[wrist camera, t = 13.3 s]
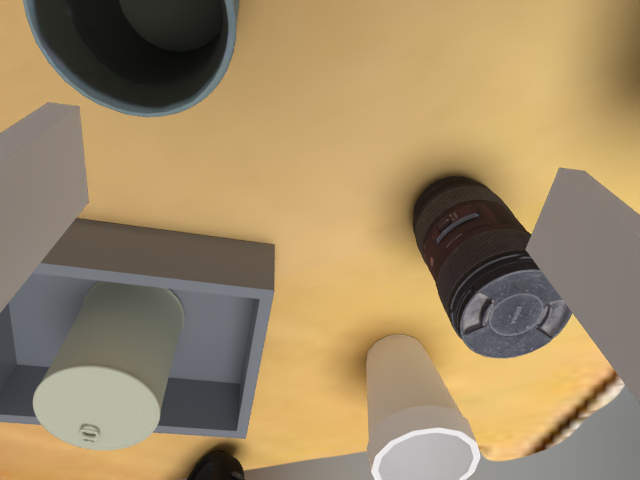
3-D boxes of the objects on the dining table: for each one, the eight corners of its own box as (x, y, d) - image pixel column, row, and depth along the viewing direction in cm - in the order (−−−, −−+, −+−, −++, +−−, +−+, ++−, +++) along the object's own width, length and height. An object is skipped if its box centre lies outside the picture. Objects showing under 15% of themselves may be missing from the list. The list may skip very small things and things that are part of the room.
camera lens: (400, 249, 47) (446, 365, 34) (410, 168, 43) (468, 266, 30) (484, 247, 48) (560, 361, 35) (502, 168, 44) (596, 264, 31)
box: (274, 244, 46) (274, 290, 40) (249, 383, 55) (245, 438, 49) (-11, 206, 42) (-59, 251, 36) (11, 363, 51) (-24, 420, 45)
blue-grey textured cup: (271, 36, 37) (268, 73, 26) (150, 91, 38) (103, 147, 28) (202, -122, 32) (166, -152, 21) (65, -52, 33) (-30, -48, 23)
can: (76, 337, 48) (21, 444, 38) (92, 261, 44) (36, 358, 34) (171, 359, 51) (144, 465, 40) (196, 289, 46) (172, 388, 36)
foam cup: (341, 338, 52) (358, 446, 41) (427, 311, 51) (468, 415, 40) (366, 396, 57) (388, 507, 46) (445, 373, 56) (487, 480, 45)
